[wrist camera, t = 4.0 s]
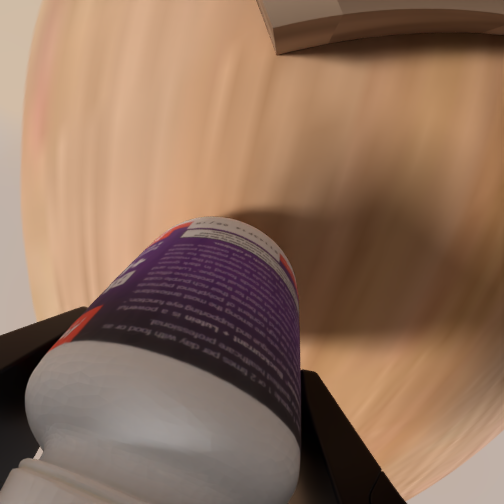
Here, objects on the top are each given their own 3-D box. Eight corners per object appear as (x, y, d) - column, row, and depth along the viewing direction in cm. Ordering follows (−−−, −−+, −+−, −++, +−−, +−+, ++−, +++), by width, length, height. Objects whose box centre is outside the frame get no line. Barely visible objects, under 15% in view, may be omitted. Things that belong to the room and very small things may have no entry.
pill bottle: (159, 192, 10) (-119, 415, 1) (321, 242, 10) (383, 618, 1) (139, 323, 12) (12, 536, 3) (268, 365, 12) (237, 617, 3)
